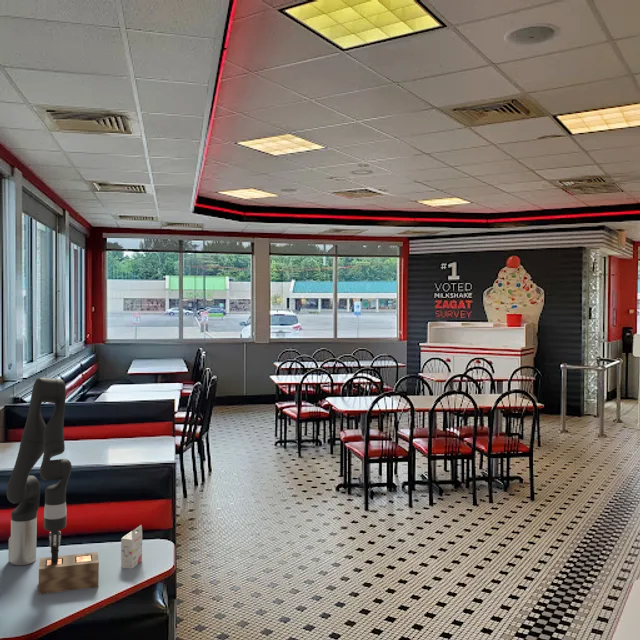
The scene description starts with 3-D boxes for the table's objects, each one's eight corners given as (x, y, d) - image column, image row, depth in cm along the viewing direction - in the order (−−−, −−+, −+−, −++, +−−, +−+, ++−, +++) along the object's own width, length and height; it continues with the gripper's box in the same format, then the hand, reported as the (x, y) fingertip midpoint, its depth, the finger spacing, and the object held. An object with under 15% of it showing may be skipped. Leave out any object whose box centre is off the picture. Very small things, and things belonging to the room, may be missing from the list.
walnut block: (38, 594, 233) (38, 569, 232) (39, 582, 242) (39, 558, 242) (98, 586, 240) (98, 562, 239) (97, 575, 249) (97, 552, 249)
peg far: (76, 585, 239) (76, 562, 239) (76, 580, 244) (76, 556, 244) (90, 584, 241) (91, 560, 241) (90, 578, 246) (90, 555, 246)
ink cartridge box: (130, 559, 265) (131, 523, 264) (142, 560, 264) (143, 524, 263) (120, 567, 257) (120, 530, 256) (131, 569, 256) (132, 531, 255)
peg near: (46, 589, 236) (46, 565, 235) (46, 583, 240) (47, 560, 240) (61, 587, 238) (61, 563, 237) (61, 581, 242) (61, 558, 242)
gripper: (66, 519, 233) (65, 568, 234) (66, 508, 246) (65, 554, 246) (43, 521, 230) (42, 570, 231) (44, 509, 243) (43, 556, 244)
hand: (54, 562), depth 239 cm, fingers closed
